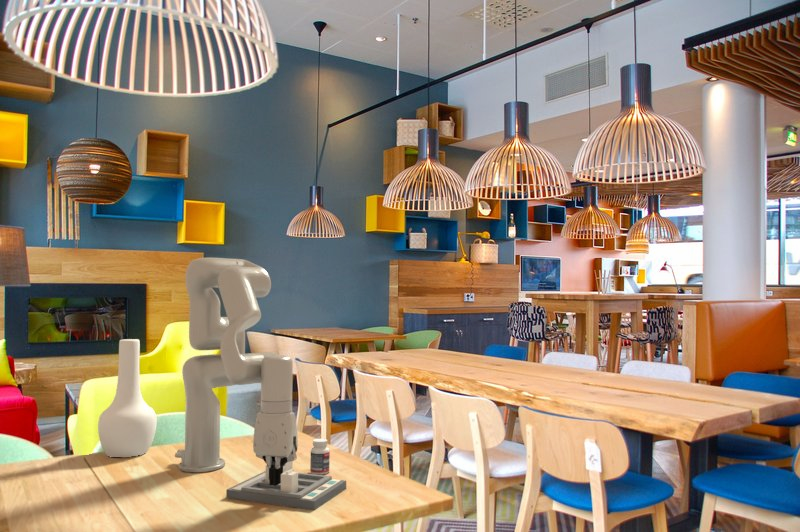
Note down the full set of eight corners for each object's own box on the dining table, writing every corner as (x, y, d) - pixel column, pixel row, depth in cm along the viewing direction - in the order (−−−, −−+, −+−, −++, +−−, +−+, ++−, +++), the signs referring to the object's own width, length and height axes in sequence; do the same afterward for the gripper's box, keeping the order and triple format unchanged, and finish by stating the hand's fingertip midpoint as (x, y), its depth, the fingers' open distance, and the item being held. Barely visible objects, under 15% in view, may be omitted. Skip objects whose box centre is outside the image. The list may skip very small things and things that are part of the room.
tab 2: (276, 478, 162) (276, 458, 162) (282, 475, 165) (282, 455, 165) (286, 479, 161) (286, 459, 161) (292, 476, 164) (292, 456, 164)
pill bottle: (325, 475, 172) (326, 442, 172) (307, 474, 173) (307, 441, 173) (331, 470, 177) (332, 438, 177) (314, 469, 178) (314, 437, 178)
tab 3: (280, 493, 150) (280, 471, 150) (287, 489, 153) (287, 468, 153) (291, 494, 149) (291, 472, 149) (298, 490, 152) (298, 469, 152)
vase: (144, 444, 206) (146, 337, 208) (164, 454, 194) (166, 339, 196) (89, 453, 195) (92, 339, 197) (107, 464, 183) (110, 342, 184)
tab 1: (265, 483, 157) (265, 463, 157) (271, 480, 160) (272, 460, 160) (275, 485, 156) (276, 464, 156) (282, 481, 159) (282, 461, 159)
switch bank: (226, 498, 153) (226, 486, 153) (264, 478, 169) (264, 468, 169) (314, 510, 145) (314, 497, 145) (346, 488, 160) (346, 477, 161)
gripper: (241, 407, 152) (240, 484, 151) (295, 411, 147) (295, 491, 146) (258, 402, 159) (258, 476, 158) (311, 406, 154) (310, 482, 153)
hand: (275, 483), depth 152 cm, fingers closed
